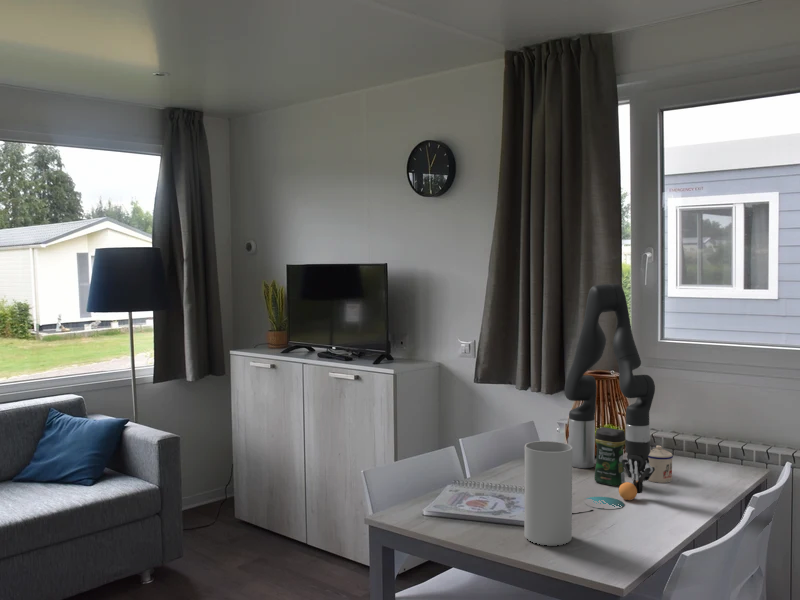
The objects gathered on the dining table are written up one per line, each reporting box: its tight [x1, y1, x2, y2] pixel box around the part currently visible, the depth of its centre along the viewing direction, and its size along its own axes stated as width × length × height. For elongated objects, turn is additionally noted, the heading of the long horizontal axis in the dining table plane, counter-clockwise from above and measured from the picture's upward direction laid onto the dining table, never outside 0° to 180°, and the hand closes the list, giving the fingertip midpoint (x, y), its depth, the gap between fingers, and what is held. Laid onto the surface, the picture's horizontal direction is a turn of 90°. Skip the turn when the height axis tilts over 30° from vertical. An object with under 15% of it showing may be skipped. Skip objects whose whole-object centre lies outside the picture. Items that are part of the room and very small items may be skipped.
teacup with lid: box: [647, 445, 674, 484], centre depth 255 cm, size 12×9×12 cm
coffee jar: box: [594, 426, 626, 487], centre depth 250 cm, size 10×8×19 cm
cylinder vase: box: [523, 440, 573, 547], centre depth 198 cm, size 12×12×25 cm
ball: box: [618, 481, 638, 501], centre depth 232 cm, size 6×6×6 cm
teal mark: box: [586, 496, 625, 507], centre depth 228 cm, size 12×12×1 cm
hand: (638, 492), depth 233 cm, fingers closed
